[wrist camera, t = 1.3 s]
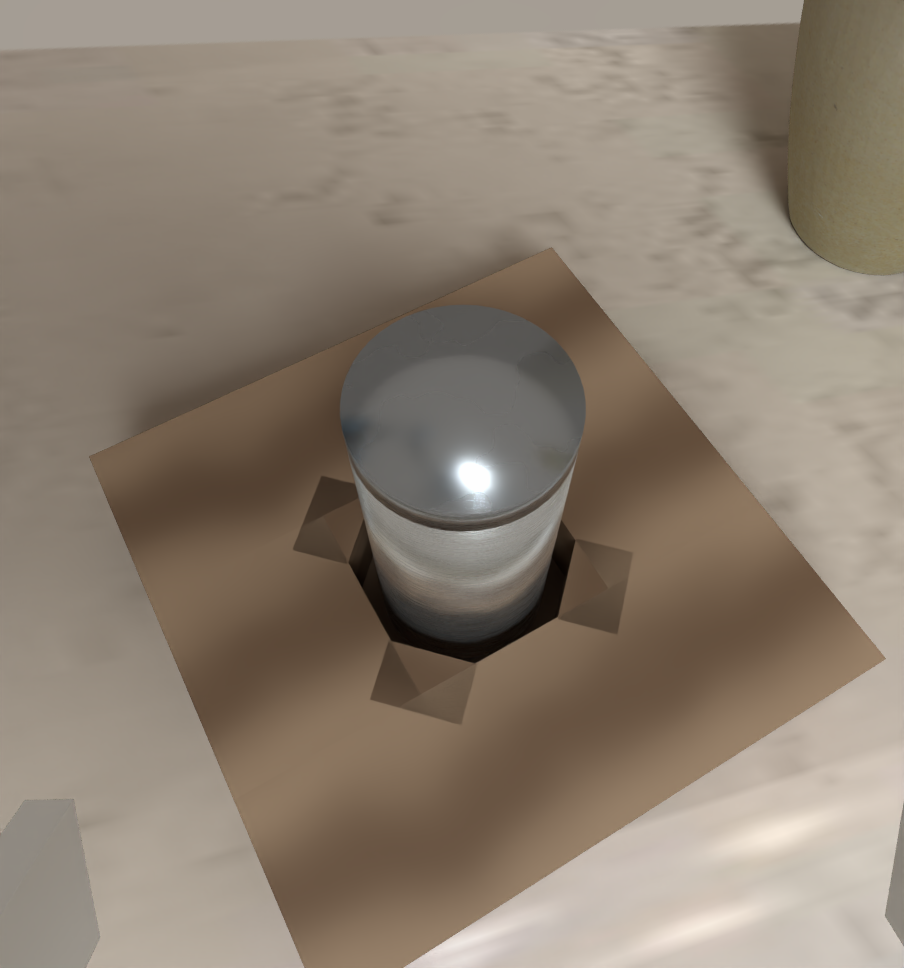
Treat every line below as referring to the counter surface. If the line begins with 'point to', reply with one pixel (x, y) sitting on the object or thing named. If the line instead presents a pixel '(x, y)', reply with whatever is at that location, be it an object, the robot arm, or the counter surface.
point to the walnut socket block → (453, 682)
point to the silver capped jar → (462, 470)
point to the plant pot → (849, 134)
